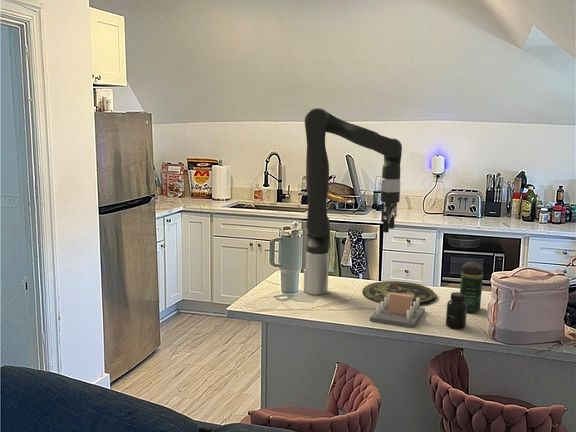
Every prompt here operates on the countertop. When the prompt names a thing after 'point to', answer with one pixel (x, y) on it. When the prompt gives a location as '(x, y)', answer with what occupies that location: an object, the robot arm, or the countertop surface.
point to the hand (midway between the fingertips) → (388, 230)
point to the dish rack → (398, 315)
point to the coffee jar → (472, 285)
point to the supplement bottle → (456, 311)
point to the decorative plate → (399, 291)
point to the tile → (399, 303)
